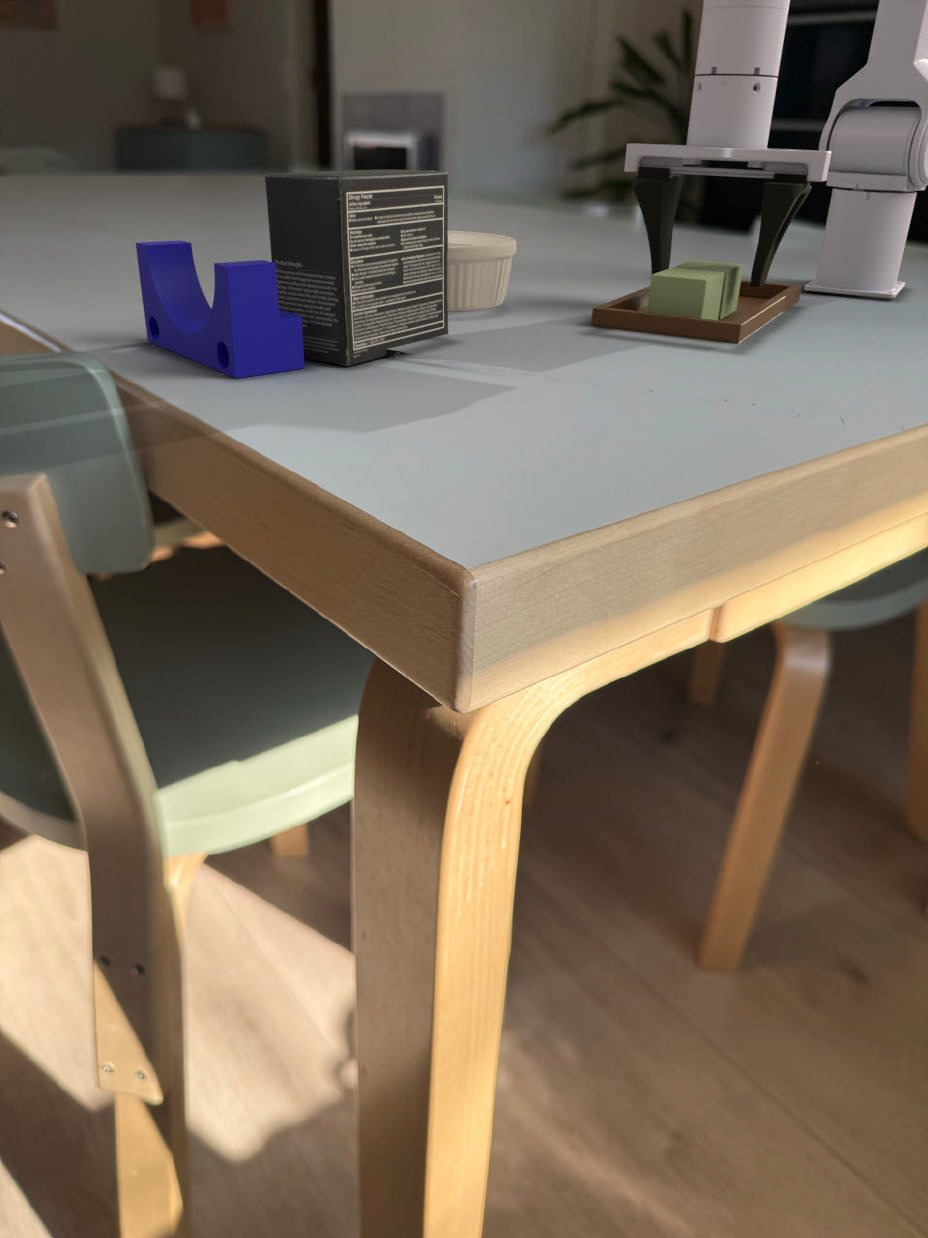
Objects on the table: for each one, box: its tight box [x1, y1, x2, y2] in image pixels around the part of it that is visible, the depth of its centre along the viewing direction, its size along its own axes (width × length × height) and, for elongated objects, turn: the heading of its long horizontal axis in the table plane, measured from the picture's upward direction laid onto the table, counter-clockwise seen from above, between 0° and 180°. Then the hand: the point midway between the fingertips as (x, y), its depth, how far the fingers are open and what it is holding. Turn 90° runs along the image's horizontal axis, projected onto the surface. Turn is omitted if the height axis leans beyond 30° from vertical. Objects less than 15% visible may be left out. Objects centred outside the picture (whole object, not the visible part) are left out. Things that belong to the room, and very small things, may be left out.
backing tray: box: [590, 279, 802, 345], centre depth 74 cm, size 22×11×2 cm, turn 152°
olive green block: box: [674, 259, 744, 320], centre depth 73 cm, size 5×4×4 cm
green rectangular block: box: [647, 266, 725, 320], centre depth 69 cm, size 5×4×4 cm
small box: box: [264, 169, 449, 367], centre depth 60 cm, size 11×6×10 cm, turn 145°
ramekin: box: [447, 230, 517, 312], centre depth 75 cm, size 11×11×5 cm
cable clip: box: [135, 240, 305, 379], centre depth 58 cm, size 12×4×6 cm, turn 40°
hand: (707, 280), depth 73 cm, fingers open, 7 cm apart
